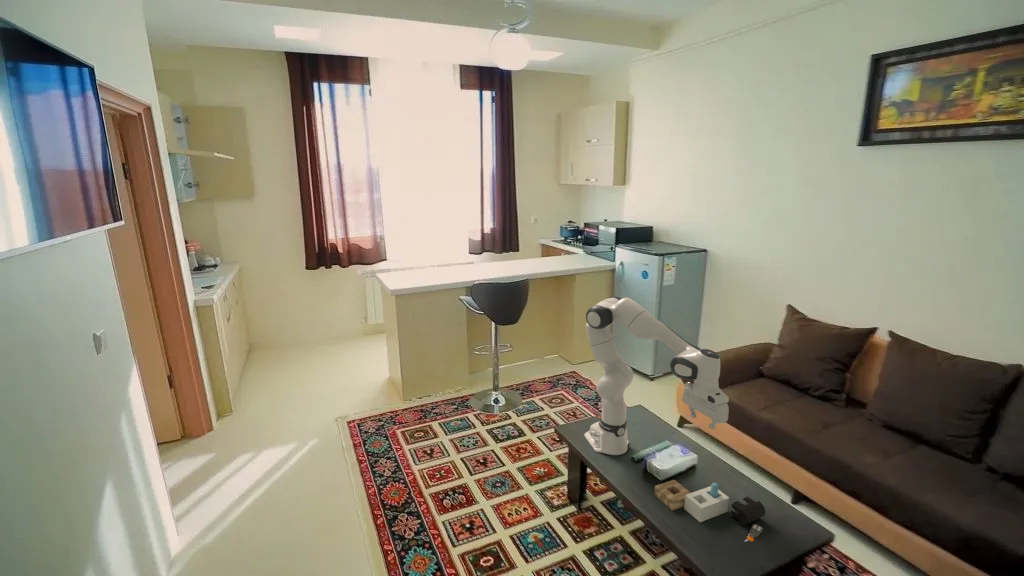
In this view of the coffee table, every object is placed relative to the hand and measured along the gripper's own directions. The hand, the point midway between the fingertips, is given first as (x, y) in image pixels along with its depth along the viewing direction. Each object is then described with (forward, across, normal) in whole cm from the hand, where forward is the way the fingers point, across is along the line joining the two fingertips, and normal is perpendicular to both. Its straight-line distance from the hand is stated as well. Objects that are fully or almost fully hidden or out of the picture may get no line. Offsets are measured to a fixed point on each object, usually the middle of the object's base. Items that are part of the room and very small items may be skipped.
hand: (702, 422), depth 183 cm
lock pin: (+29, +12, -4) cm, 32 cm away
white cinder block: (+29, +12, -7) cm, 32 cm away
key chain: (+30, +28, -3) cm, 41 cm away
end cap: (+30, +22, +3) cm, 37 cm away
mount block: (+29, +2, -14) cm, 32 cm away
